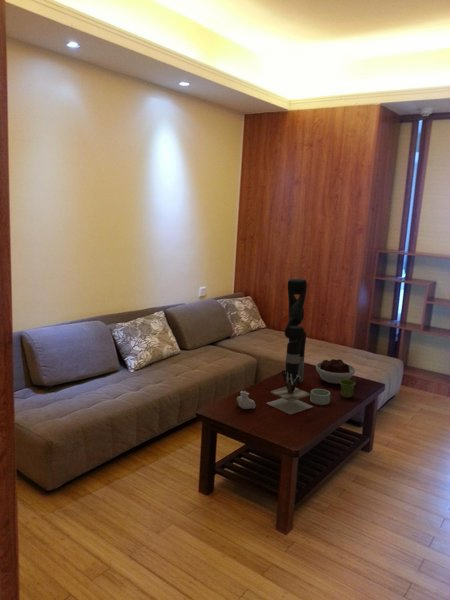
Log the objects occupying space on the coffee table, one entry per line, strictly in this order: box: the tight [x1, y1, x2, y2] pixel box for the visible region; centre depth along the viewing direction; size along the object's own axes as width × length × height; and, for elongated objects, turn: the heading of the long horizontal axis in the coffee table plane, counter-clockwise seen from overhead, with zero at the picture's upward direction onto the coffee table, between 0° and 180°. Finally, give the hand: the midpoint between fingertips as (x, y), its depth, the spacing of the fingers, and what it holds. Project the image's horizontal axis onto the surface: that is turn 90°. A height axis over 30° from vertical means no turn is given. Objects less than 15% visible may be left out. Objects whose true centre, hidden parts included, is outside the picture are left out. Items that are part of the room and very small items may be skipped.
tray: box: [266, 397, 314, 415], centre depth 275 cm, size 19×19×1 cm
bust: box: [236, 390, 256, 410], centre depth 269 cm, size 12×8×11 cm
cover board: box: [270, 382, 311, 402], centre depth 273 cm, size 16×16×7 cm
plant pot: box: [339, 379, 356, 399], centre depth 292 cm, size 9×9×9 cm
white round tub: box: [315, 358, 356, 385], centre depth 317 cm, size 25×25×15 cm
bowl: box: [309, 388, 331, 406], centre depth 282 cm, size 11×11×6 cm
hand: (290, 390), depth 274 cm, fingers closed on cover board, 2 cm apart
